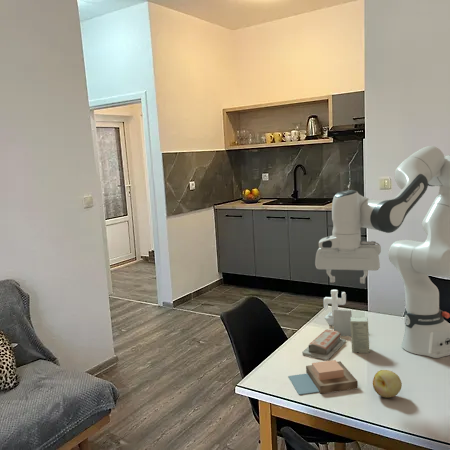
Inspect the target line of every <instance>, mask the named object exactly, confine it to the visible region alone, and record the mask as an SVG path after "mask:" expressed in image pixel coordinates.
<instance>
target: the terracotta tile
mask: <svg viewBox="0 0 450 450" xmlns="http://www.w3.org/2000/svg"><path fill="white" fill-rule="evenodd" d="M337 362H338V361H337V360H336V359H332V360H323V361H317V362H312V363H311V365H312V371H313V372H314V373H315V375H316V376H317V378H318V379H319V380H326V379H333V378H340V377H344V370H343V368H342V367H341V366H340V365H339V364H338V363H337Z"/></svg>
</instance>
